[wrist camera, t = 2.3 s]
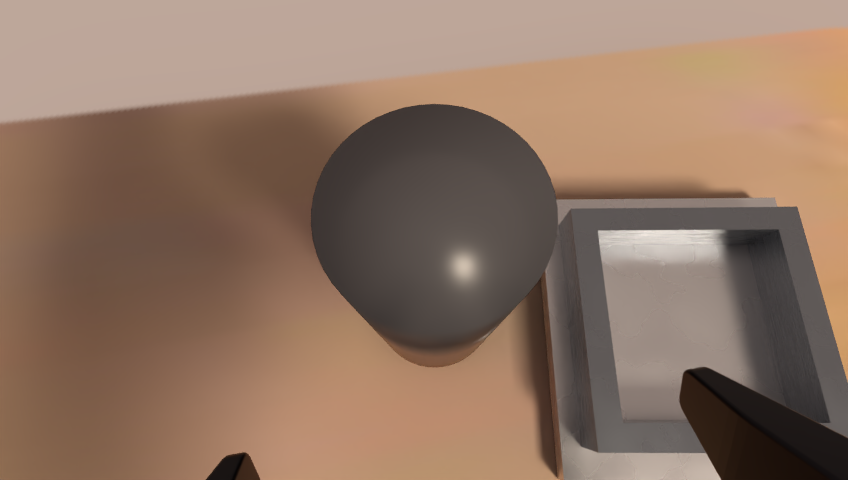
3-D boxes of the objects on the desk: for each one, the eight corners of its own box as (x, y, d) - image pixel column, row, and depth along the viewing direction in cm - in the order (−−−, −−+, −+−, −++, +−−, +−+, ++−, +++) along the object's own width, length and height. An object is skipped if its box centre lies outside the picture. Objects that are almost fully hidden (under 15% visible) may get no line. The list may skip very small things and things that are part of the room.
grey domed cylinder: (493, 367, 20) (570, 333, 9) (376, 367, 20) (300, 334, 9) (488, 254, 22) (547, 102, 10) (379, 255, 22) (320, 105, 10)
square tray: (831, 479, 18) (903, 495, 16) (557, 478, 19) (579, 494, 16) (760, 205, 22) (808, 178, 19) (534, 208, 22) (549, 180, 20)
